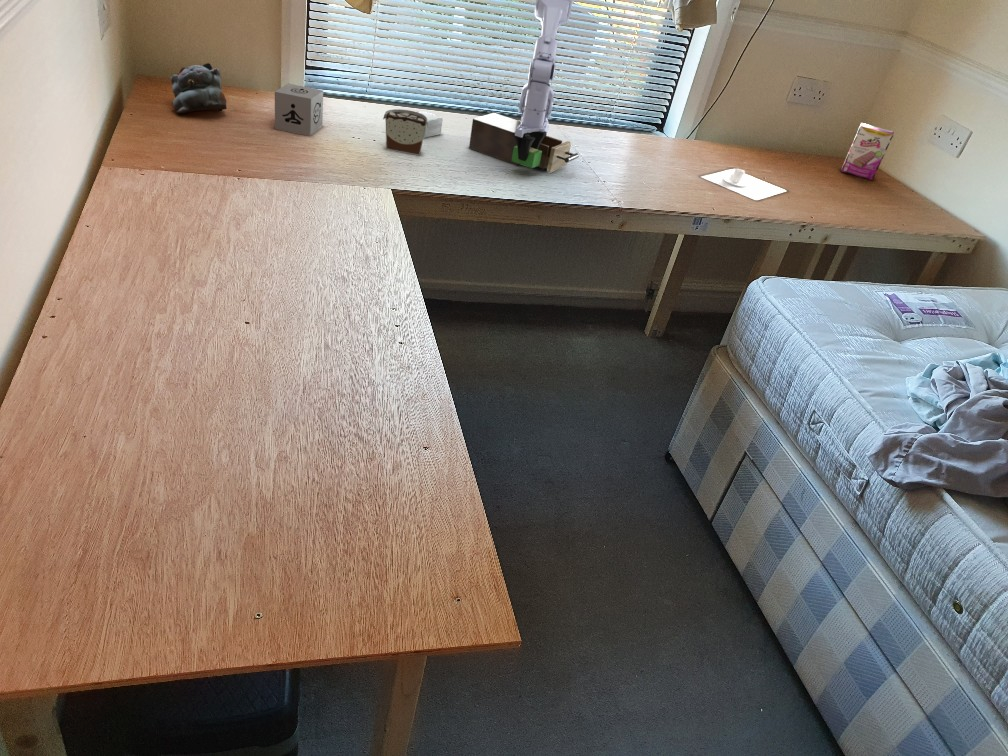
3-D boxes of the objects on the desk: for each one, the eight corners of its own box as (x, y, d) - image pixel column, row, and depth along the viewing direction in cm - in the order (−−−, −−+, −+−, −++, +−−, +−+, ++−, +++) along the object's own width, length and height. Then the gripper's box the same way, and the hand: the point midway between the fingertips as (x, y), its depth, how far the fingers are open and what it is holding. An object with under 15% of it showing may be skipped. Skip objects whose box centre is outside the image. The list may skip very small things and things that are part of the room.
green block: (519, 157, 213) (521, 143, 210) (539, 165, 210) (542, 150, 208) (511, 161, 209) (513, 146, 207) (532, 168, 207) (534, 153, 205)
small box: (421, 126, 232) (423, 109, 229) (441, 134, 229) (443, 117, 226) (404, 130, 226) (406, 113, 224) (424, 138, 223) (426, 120, 220)
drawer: (578, 169, 219) (583, 146, 216) (562, 177, 212) (567, 153, 208) (520, 149, 226) (524, 126, 222) (503, 156, 218) (507, 132, 214)
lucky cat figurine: (164, 114, 204) (155, 59, 202) (186, 121, 216) (177, 70, 214) (217, 107, 203) (208, 52, 201) (237, 114, 215) (228, 63, 212)
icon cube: (288, 119, 217) (288, 83, 212) (322, 126, 217) (323, 90, 212) (274, 128, 209) (274, 91, 204) (310, 136, 209) (311, 98, 203)
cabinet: (536, 157, 225) (542, 128, 220) (517, 165, 216) (522, 135, 212) (489, 141, 231) (493, 112, 226) (468, 148, 222) (472, 118, 217)
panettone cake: (428, 149, 215) (432, 114, 210) (425, 156, 210) (428, 120, 205) (385, 141, 215) (388, 105, 210) (381, 148, 210) (383, 111, 204)
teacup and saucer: (732, 176, 241) (736, 163, 239) (753, 185, 237) (758, 172, 234) (717, 180, 235) (721, 167, 233) (739, 189, 231) (744, 176, 229)
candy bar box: (840, 172, 266) (860, 125, 257) (841, 168, 270) (860, 122, 261) (873, 181, 263) (894, 133, 254) (873, 177, 267) (894, 130, 258)
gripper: (535, 116, 195) (526, 168, 202) (560, 108, 206) (551, 157, 213) (511, 108, 197) (503, 160, 205) (538, 100, 208) (529, 149, 216)
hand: (526, 158), depth 209 cm, fingers closed on green block, 4 cm apart
